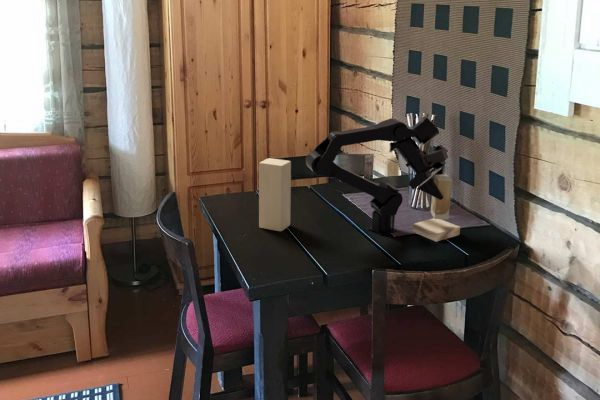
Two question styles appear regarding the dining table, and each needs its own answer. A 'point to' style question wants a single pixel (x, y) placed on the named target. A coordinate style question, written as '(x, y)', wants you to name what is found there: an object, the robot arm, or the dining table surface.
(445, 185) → the skincare box
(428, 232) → the birch block
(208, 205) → the dining table surface
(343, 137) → the robot arm
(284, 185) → the beige tall rectangular block
